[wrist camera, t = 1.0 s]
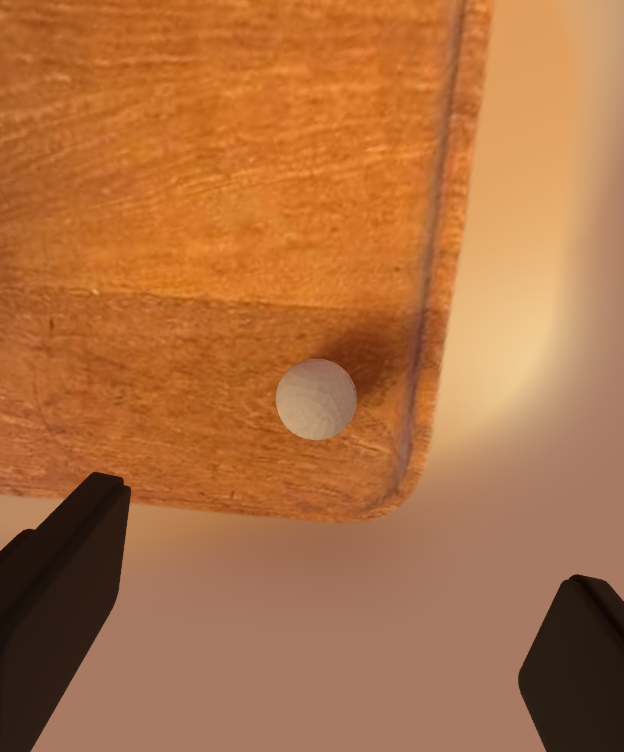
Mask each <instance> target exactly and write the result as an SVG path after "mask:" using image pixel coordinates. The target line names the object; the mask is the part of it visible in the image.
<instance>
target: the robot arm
mask: <svg viewBox="0 0 624 752" xmlns="http://www.w3.org/2000/svg"><path fill="white" fill-rule="evenodd" d="M130 496H131V488H130V487H129V486H125V485H124V481H123V478H122V477H118V476H113V475H108V474H104V473H99V472H93V473H92V474H90V475H89V476H88V477H87V478H86V479H85V480H84V481H83V482H82V483H81V484H80V485H79V486H78V487H77V488H76V489H75V490H74V491H73V492H72V493H71V494H70V495H69V496H68V497H67V498H66V499H65V500H64V501H63V502H62V503H61V504H60V505H59V506H58V507H57V508H56V509H55V511H53V512H52V513H51V514H50V515H49V516H48V518H46V519H45V520H44V521H43V522H42V523H41V524H40V525H39V526H38V527H37V529H35V530H33V529H26V530H23V531H22V532H21V533H19V534H18V535H17V536H16V537H15V538H14V539H13V540H12V541H11V542H9V543H8V544H7V545H6V547H4V548H3V549H2V550H1V551H0V752H30V751H31V750H32V748H33V746H34V745H35V743H36V741H37V739H38V738H39V736H40V734H41V732H42V731H43V729H44V727H45V726H46V724H47V722H48V720H49V719H50V717H51V715H52V713H53V712H54V710H55V708H56V706H57V705H58V703H59V701H60V699H61V698H62V696H63V694H64V692H65V691H66V689H67V687H68V685H69V684H70V682H71V680H72V678H73V677H74V675H75V673H76V671H77V670H78V668H79V666H80V664H81V663H82V661H83V659H84V657H85V656H86V654H87V652H88V651H89V649H90V647H91V645H92V644H93V642H94V640H95V638H96V637H97V635H98V633H99V631H100V630H101V628H102V626H103V624H104V623H105V621H106V619H107V617H108V616H109V614H110V612H111V610H112V608H113V606H114V604H115V601H116V598H117V595H118V590H119V583H120V575H121V567H122V559H123V551H124V544H125V536H126V527H127V520H128V512H129V504H130ZM518 684H519V689H520V692H521V695H522V697H523V699H524V701H525V704H526V706H527V708H528V711H529V713H530V715H531V718H532V720H533V722H534V724H535V727H536V729H537V731H538V733H539V736H540V738H541V740H542V743H543V745H544V747H545V750H546V752H624V601H623V600H622V599H621V598H620V597H619V596H618V594H617V593H616V592H615V591H614V590H613V588H612V587H611V586H610V585H609V584H608V583H607V582H606V581H604V580H601V579H597V578H592V577H587V576H582V575H573V576H571V577H570V578H569V580H565V581H563V582H562V584H561V585H560V588H559V589H558V592H557V594H556V596H555V598H554V600H553V602H552V604H551V606H550V609H549V610H548V613H547V615H546V617H545V619H544V621H543V623H542V625H541V627H540V629H539V632H538V634H537V636H536V638H535V640H534V642H533V644H532V646H531V648H530V650H529V652H528V655H527V657H526V659H525V661H524V663H523V666H522V667H521V669H520V672H519V677H518Z"/></svg>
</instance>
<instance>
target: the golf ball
mask: <svg viewBox="0 0 624 752" xmlns="http://www.w3.org/2000/svg"><path fill="white" fill-rule="evenodd" d="M276 406H277V409H278V412H279V416H280V419H281V420H282V421H283V423H284V424H285V426H286V427H287V428H288V429H289V430H290V431H291V432H293V433H294V434H296V435H298V436H300V437H303V438H305V439H312V440H324V439H328V438H330V437H333V436H335V435H337V434H338V433H340V432H341V431H342V430H343V429H345V428H346V427H347V426H348V424H349V423H350V421H351V420H352V418H353V416H354V414H355V411H356V406H357V395H356V389H355V385H354V383H353V382H352V380H351V378H350V376H349V375H348V373H347V372H346V371H345V370H344V369H343V368H342V367H341V366H339V365H337V364H336V363H334V362H331V361H328V360H325V359H309V360H304V361H302V362H299V363H297V364H296V365H294V366H292V367H291V368H290V369H289V370H288V371H287V372H286V373H285V374H284V376H283V377H282V379H281V380H280V382H279V385H278V387H277V392H276Z"/></svg>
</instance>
